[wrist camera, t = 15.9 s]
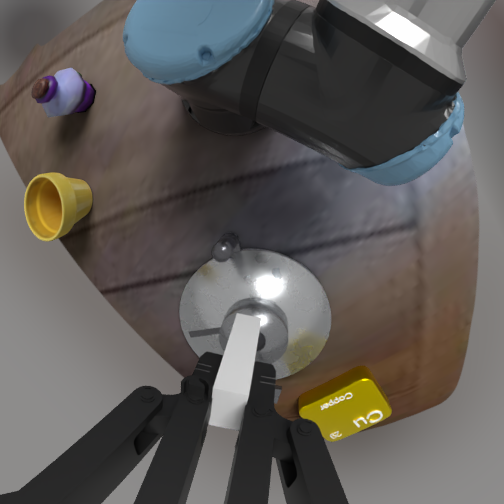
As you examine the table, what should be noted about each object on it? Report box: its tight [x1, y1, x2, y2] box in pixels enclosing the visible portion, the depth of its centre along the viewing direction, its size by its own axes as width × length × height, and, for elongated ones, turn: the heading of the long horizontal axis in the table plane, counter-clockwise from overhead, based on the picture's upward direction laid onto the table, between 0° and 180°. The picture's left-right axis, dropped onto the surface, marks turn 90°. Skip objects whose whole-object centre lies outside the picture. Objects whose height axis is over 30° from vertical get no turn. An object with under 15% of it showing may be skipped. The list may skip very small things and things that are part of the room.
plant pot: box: [24, 173, 93, 241], centre depth 37 cm, size 10×10×10 cm
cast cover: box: [219, 297, 288, 364], centre depth 41 cm, size 10×10×4 cm
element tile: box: [298, 366, 392, 442], centre depth 46 cm, size 15×15×5 cm
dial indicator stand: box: [274, 385, 282, 403], centre depth 43 cm, size 5×4×12 cm
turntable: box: [179, 232, 331, 379], centre depth 41 cm, size 27×24×6 cm
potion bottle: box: [32, 68, 96, 117], centre depth 31 cm, size 9×9×12 cm
